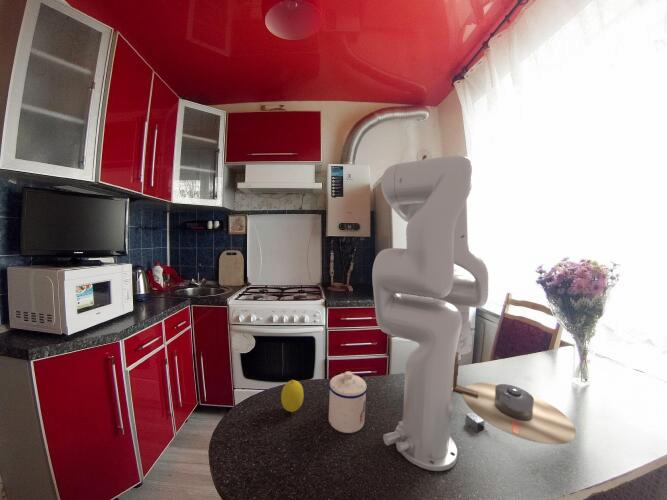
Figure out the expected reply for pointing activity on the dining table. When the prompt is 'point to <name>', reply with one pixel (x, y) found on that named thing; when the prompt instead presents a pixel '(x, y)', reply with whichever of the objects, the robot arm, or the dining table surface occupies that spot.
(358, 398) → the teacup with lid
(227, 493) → the dining table surface
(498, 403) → the cover
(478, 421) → the speckled grey block
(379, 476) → the dining table surface
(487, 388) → the turntable
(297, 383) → the lemon
